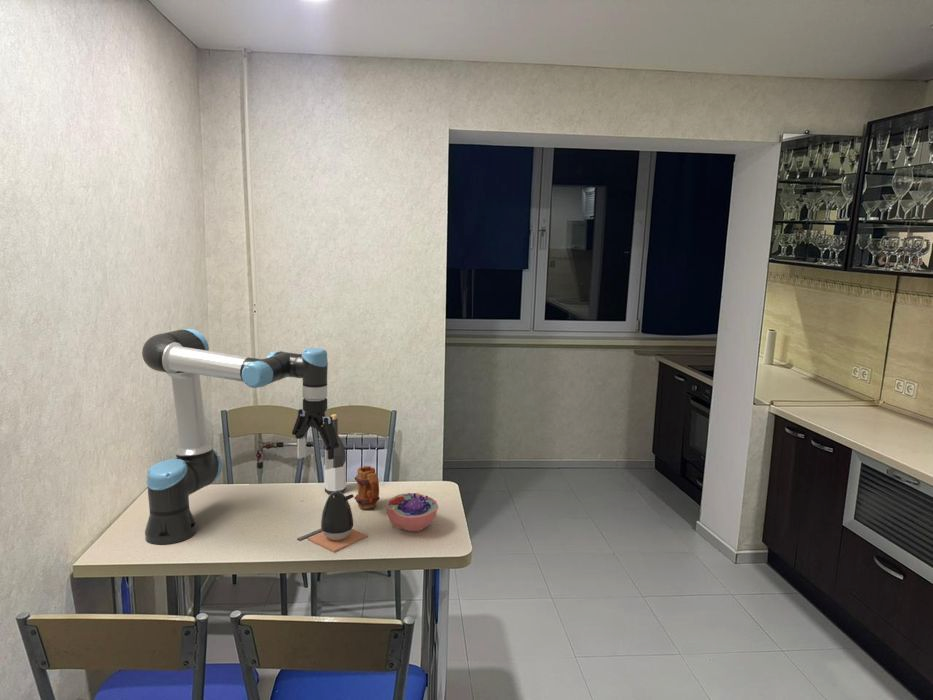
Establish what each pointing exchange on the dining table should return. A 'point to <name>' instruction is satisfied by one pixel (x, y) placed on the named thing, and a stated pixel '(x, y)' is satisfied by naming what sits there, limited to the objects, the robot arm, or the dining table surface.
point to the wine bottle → (336, 466)
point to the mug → (367, 487)
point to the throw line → (309, 534)
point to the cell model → (411, 511)
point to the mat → (337, 544)
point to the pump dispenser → (337, 516)
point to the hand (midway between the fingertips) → (315, 462)
